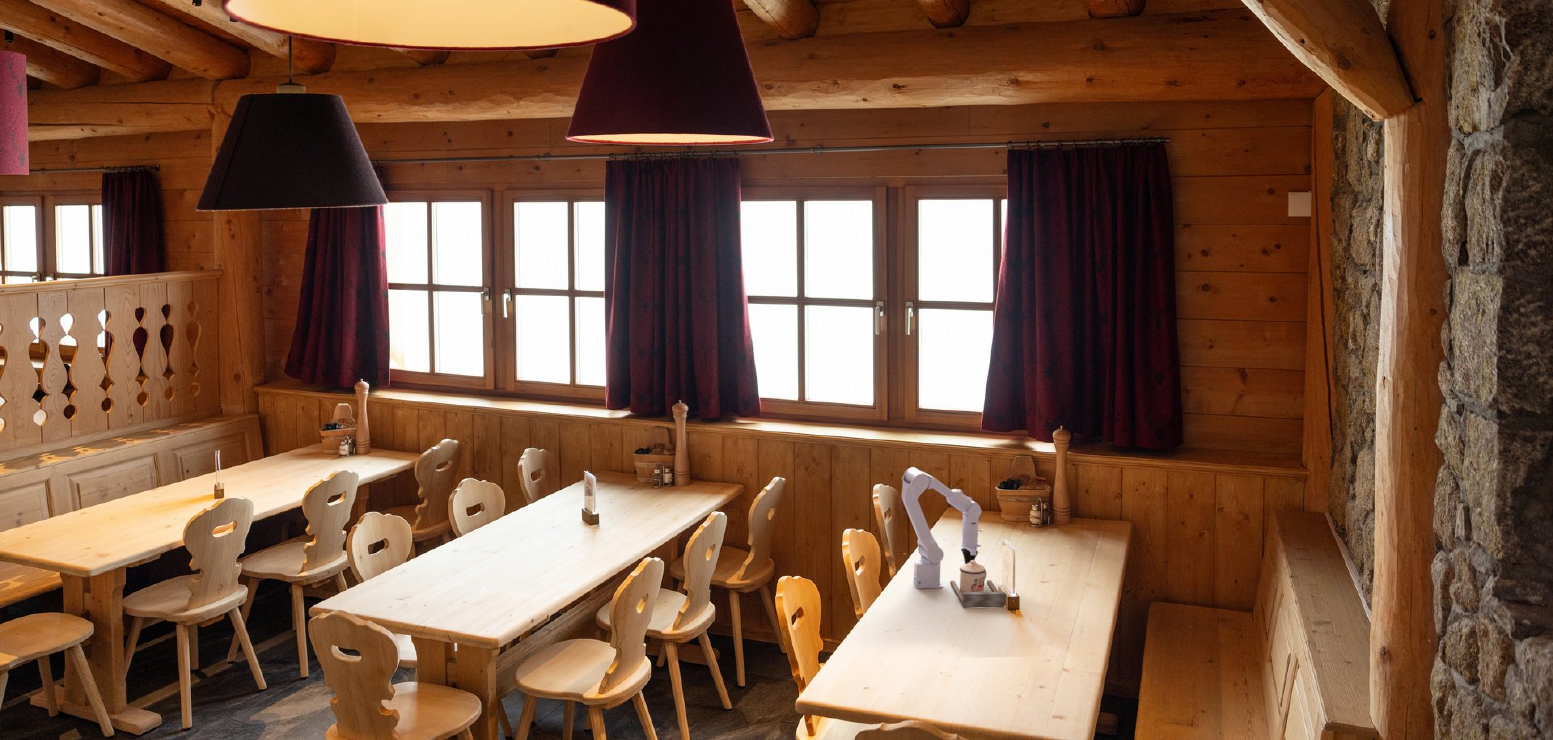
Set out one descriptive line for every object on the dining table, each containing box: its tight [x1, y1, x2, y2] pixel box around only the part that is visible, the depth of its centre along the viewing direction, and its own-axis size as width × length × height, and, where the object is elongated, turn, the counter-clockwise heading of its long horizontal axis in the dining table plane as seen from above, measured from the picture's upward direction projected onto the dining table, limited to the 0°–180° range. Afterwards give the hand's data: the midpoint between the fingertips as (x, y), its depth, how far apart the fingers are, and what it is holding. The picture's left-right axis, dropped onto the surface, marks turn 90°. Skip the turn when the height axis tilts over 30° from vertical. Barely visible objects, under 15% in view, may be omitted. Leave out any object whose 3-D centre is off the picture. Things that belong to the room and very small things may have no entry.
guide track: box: [949, 579, 1007, 609], centre depth 423 cm, size 15×24×5 cm, turn 2°
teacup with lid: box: [959, 559, 988, 593], centre depth 427 cm, size 12×9×12 cm
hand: (968, 568), depth 438 cm, fingers closed
